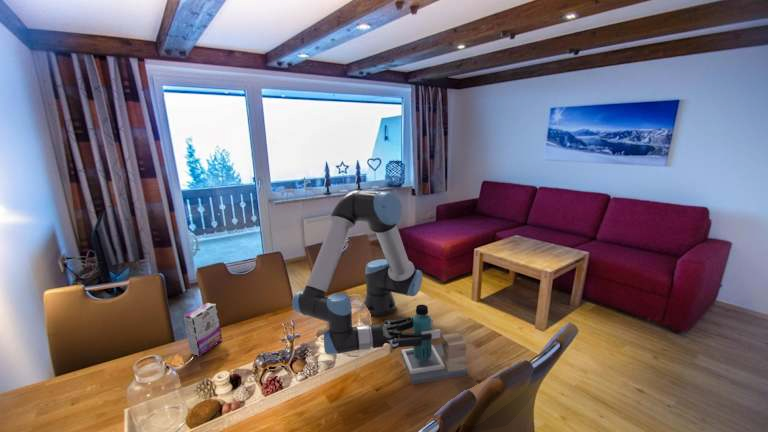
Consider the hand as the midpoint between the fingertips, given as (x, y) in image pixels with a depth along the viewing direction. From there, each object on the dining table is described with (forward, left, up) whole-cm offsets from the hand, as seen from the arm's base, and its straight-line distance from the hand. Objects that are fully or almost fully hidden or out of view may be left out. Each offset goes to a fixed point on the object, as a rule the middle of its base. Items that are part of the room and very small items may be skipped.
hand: (436, 327), depth 115 cm
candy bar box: (-29, -84, -14) cm, 90 cm away
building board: (+1, -2, -13) cm, 14 cm away
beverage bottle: (0, -5, -12) cm, 13 cm away
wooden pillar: (+5, +4, -12) cm, 14 cm away
